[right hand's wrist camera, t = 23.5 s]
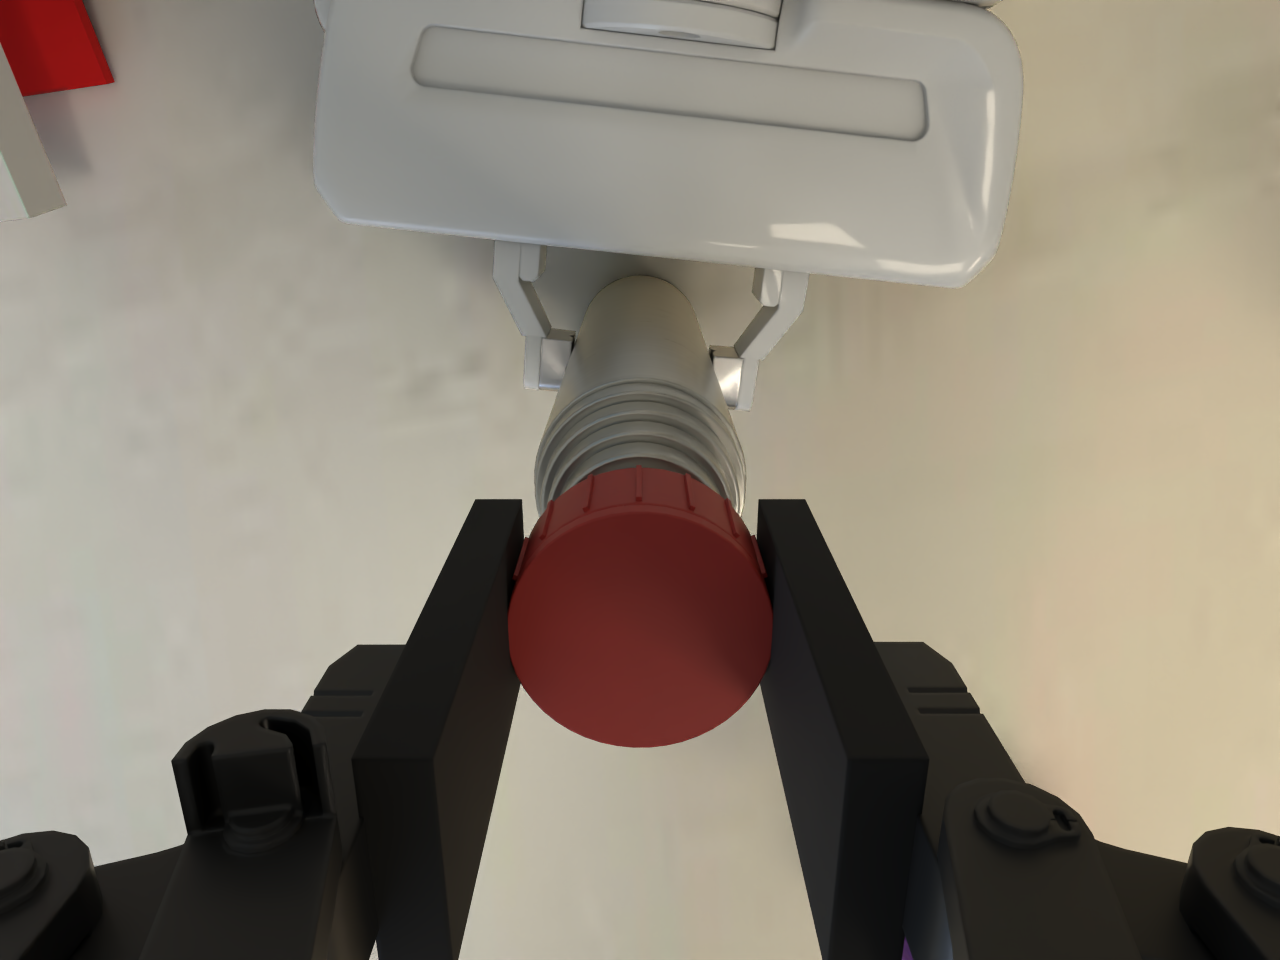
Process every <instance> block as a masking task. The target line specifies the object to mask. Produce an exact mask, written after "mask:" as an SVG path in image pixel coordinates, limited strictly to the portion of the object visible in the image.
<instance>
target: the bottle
mask: <svg viewBox="0 0 1280 960" xmlns="http://www.w3.org/2000/svg"><path fill="white" fill-rule="evenodd" d="M636 465H642V468H655V469H663V470H668V471H672V472H676V473H680V474H682V475H685V474H686V473H687V474H690V475H691V478H693V479H695V480H697V481H699V482H701V483H702V484H704V485H706V486H708V487H709V488H711V489H712V490H714V491H715V492H716V493H718V494H719V495H720V496H722V497H723V498H724V499H726V498H728V499H729V500H730V501H731V504H732V507H733V508H734V510H735V511H736V512H737V513H738V515H739V516H740V517H741V516H742V512H743V508H744V503H745V492H746V465H745V459H744V454H743V450H742V448H741V445H740V442H739V439H738V436H737V433H736V430H735V427H734V425H733V422H732V419H731V416H730V413H729V410H728V407H727V404H726V402H725V399H724V396H723V393H722V390H721V387H720V384H719V382H718V379H717V376H716V373H715V370H714V367H713V364H712V361H711V359H710V356H709V353H708V350H707V347H706V344H705V341H704V338H703V336H702V333H701V330H700V327H699V324H698V321H697V318H696V316H695V313H694V310H693V308H692V306H691V304H690V303H689V301H688V300H687V298H686V297H685V296H684V295H683V294H682V293H681V292H680V291H679V290H678V289H677V288H676V287H674V286H673V285H671V284H670V283H668V282H666V281H664V280H662V279H659V278H656V277H651V276H641V275H638V276H629V277H625V278H622V279H619V280H616V281H614V282H613V283H611V284H609V285H608V286H606V287H605V288H603V289H602V290H601V291H600V292H599V293H598V294H597V295H596V296H595V298H594V299H593V300H592V302H591V303H590V305H589V307H588V309H587V311H586V314H585V316H584V319H583V322H582V325H581V328H580V331H579V334H578V337H577V339H576V342H575V345H574V348H573V351H572V354H571V357H570V359H569V362H568V365H567V368H566V371H565V374H564V377H563V380H562V382H561V385H560V388H559V391H558V394H557V397H556V400H555V403H554V405H553V408H552V411H551V414H550V417H549V420H548V423H547V425H546V428H545V431H544V434H543V437H542V440H541V443H540V446H539V449H538V453H537V456H536V462H535V470H534V484H535V498H536V505H537V510H538V514H539V517H541V515H542V514H543V513H544V511H545V510H546V508H547V505H548V502H549V501H550V500H553V501H555V500H556V499H557V498H558V497H559V496H560V495H562V494H563V493H564V492H566V491H567V490H568V489H570V488H571V487H573V486H575V485H576V484H578V483H580V482H582V481H584V480H586V479H587V477H588V475H591V474H593V476H596V475H598V474H601V473H605V472H609V471H613V470H618V469H626V468H636Z"/></svg>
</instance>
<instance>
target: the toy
mask: <svg viewBox="0 0 1280 960" xmlns="http://www.w3.org/2000/svg"><path fill="white" fill-rule="evenodd" d="M113 82H114V79H113V77H112V74H111V72H110V69H109V67H108V64H107V62H106V59H105V57H104V54H103V52H102V49H101V47H100V44H99V42H98V39H97V37H96V34H95V32H94V29H93V27H92V24H91V22H90V19H89V17H88V14H87V12H86V9H85V7H84V4H83V2H82V0H0V222H3V221H12V220H20V219H28V218H32V217H35V216H38V215H40V214H43V213H46V212H49V211H52V210H55V209H58V208H60V207H63V206H66V205H67V204H66V201H65V199H64V196H63V194H62V192H61V189H60V187H59V184H58V182H57V179H56V177H55V175H54V172H53V170H52V167H51V165H50V162H49V160H48V158H47V155H46V153H45V150H44V148H43V145H42V143H41V140H40V138H39V136H38V133H37V131H36V128H35V126H34V123H33V121H32V119H31V116H30V114H29V111H28V109H27V106H26V104H25V102H24V99H23V96H30V95H37V94H43V93H50V92H57V91H63V90H70V89H77V88H83V87H90V86H97V85H103V84H109V83H113Z"/></svg>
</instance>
